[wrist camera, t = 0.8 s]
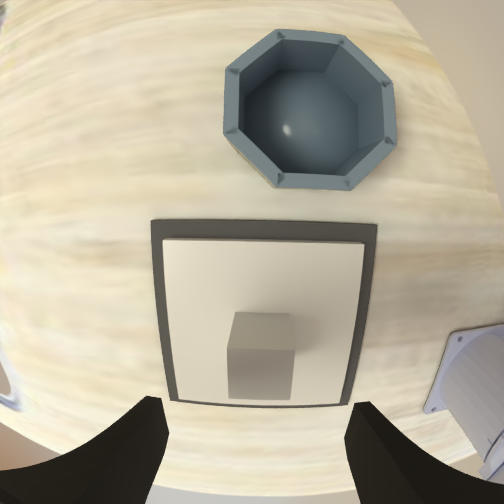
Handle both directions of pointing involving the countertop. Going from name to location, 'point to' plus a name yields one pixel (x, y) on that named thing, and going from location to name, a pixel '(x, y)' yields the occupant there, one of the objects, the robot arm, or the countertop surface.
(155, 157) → the countertop surface
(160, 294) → the mat
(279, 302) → the cover
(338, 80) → the bowl
